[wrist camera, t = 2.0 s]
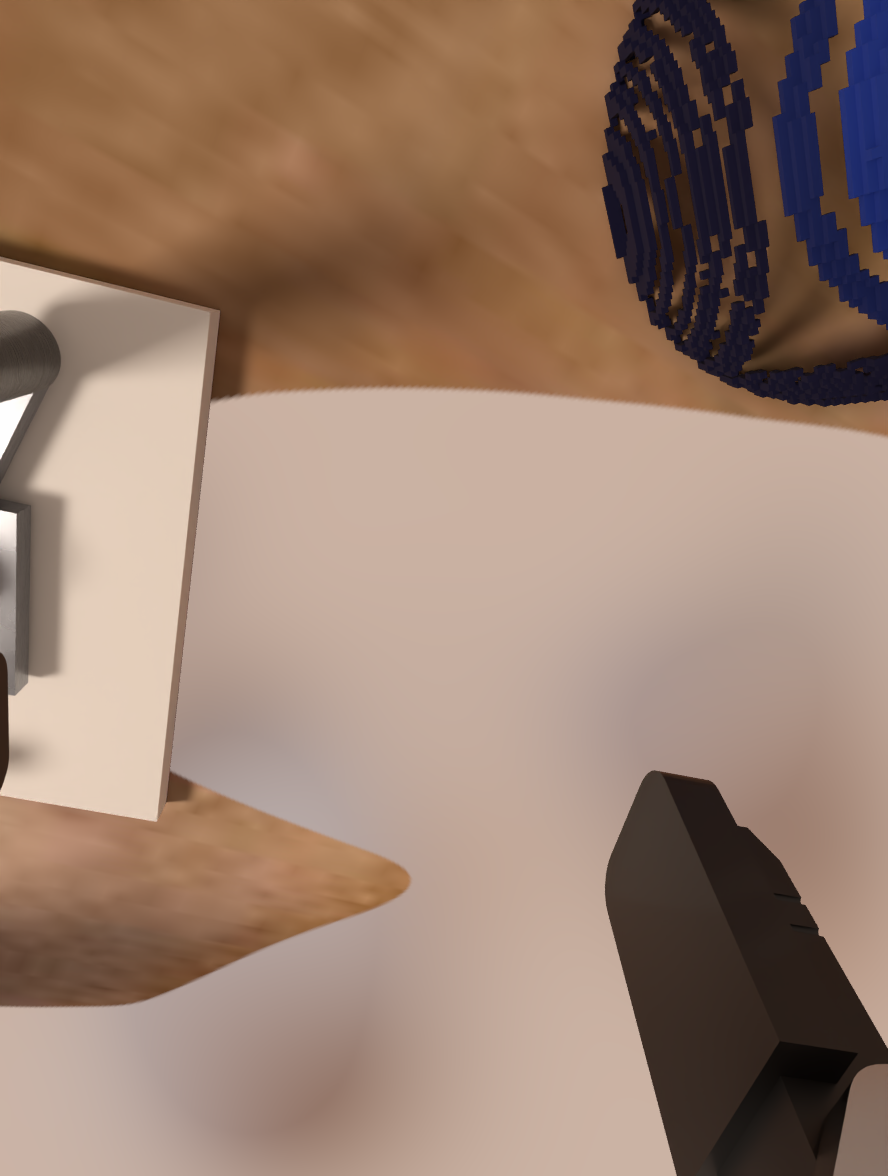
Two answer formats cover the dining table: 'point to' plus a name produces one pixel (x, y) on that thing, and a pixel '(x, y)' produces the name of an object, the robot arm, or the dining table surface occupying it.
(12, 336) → the grey angle bracket
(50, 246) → the dining table surface
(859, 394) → the decorative bowl
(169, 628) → the post base
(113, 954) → the dining table surface
